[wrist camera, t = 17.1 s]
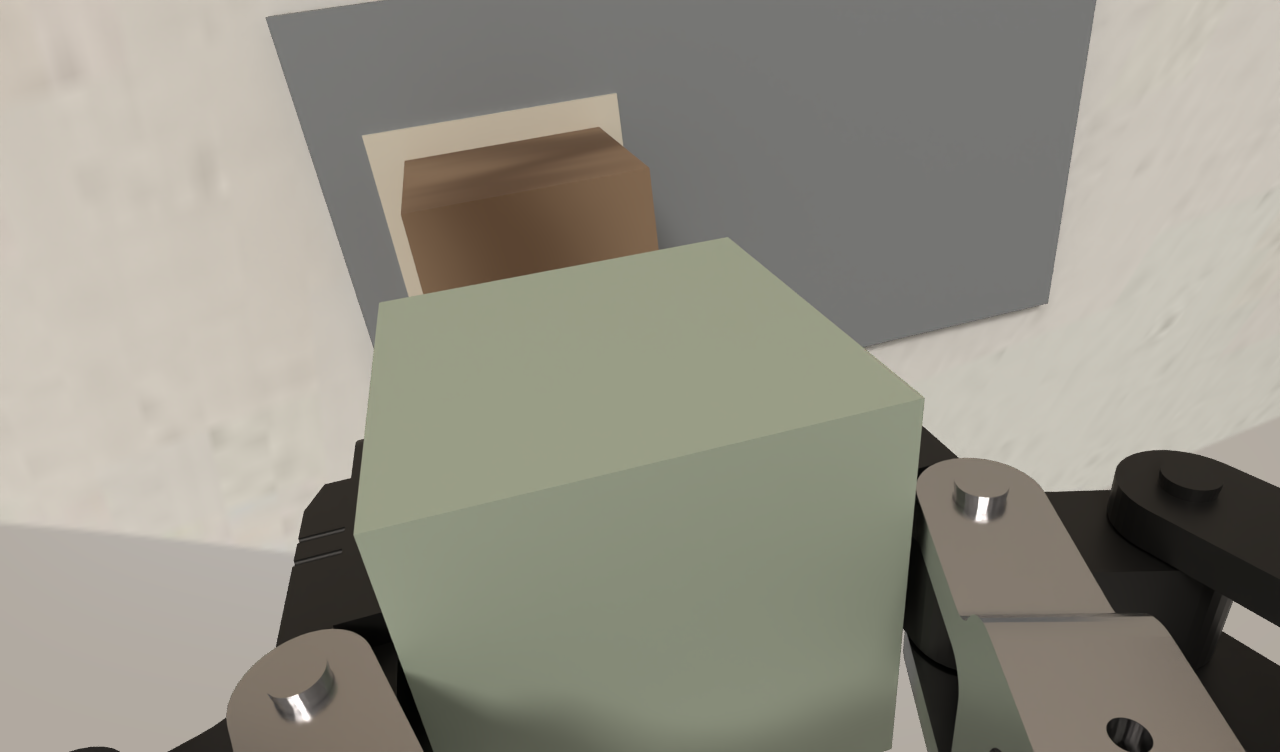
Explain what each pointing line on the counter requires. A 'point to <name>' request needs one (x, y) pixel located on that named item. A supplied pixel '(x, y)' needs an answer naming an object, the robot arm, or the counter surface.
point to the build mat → (729, 132)
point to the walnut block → (525, 208)
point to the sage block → (639, 511)
